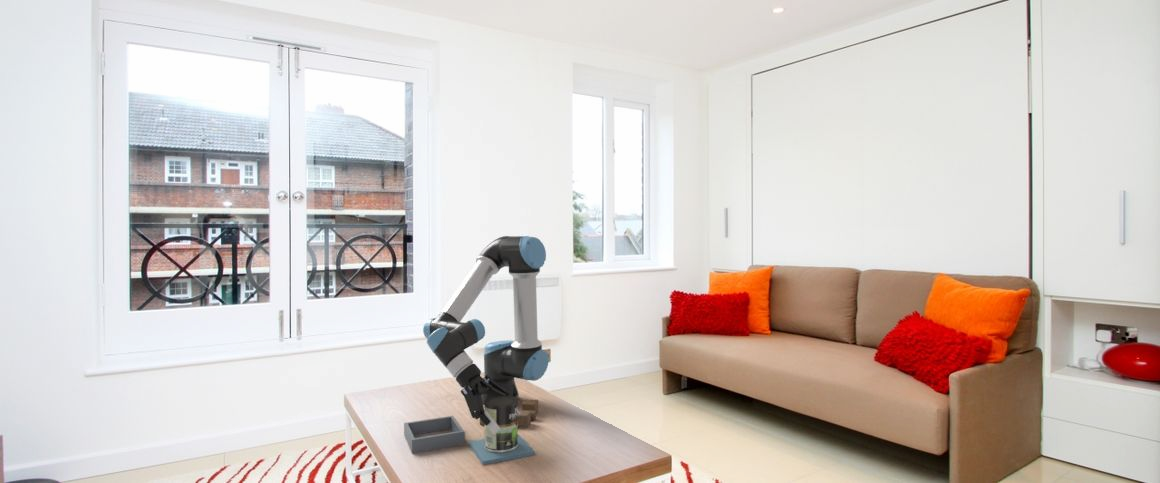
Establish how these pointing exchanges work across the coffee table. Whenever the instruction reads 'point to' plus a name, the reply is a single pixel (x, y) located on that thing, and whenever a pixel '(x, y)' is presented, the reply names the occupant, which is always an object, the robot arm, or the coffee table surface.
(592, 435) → the coffee table surface
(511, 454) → the board
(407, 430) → the bin
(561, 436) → the coffee table surface
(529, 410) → the wooden block set
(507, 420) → the coffee can
